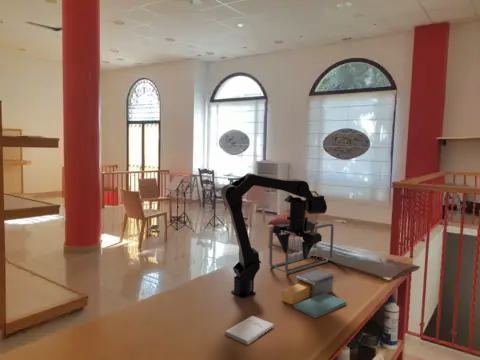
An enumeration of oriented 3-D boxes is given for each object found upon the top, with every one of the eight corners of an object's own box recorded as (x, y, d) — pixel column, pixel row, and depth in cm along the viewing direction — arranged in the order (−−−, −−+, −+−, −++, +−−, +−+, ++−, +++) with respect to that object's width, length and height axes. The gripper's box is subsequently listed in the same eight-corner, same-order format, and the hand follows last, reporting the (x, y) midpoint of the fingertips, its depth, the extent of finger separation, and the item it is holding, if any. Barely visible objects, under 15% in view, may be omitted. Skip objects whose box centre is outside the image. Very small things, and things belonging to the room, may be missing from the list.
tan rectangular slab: (292, 305, 124) (292, 294, 124) (282, 301, 127) (282, 290, 127) (314, 294, 133) (315, 283, 133) (304, 290, 136) (305, 280, 136)
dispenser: (312, 298, 129) (313, 282, 128) (295, 291, 135) (296, 275, 134) (332, 291, 136) (332, 275, 135) (314, 284, 142) (315, 269, 141)
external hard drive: (224, 336, 105) (251, 319, 114) (247, 346, 100) (273, 328, 109) (224, 330, 105) (251, 314, 114) (247, 341, 99) (274, 323, 109)
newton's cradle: (314, 255, 178) (316, 218, 176) (332, 261, 170) (334, 222, 168) (268, 268, 159) (269, 227, 157) (286, 275, 151) (287, 232, 149)
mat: (315, 318, 115) (315, 314, 115) (293, 307, 122) (293, 304, 122) (346, 304, 125) (346, 301, 125) (324, 295, 132) (324, 292, 132)
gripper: (332, 216, 133) (329, 258, 135) (292, 208, 147) (290, 246, 149) (312, 219, 126) (310, 264, 128) (272, 210, 140) (270, 251, 142)
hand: (295, 256), depth 137 cm, fingers open, 9 cm apart
